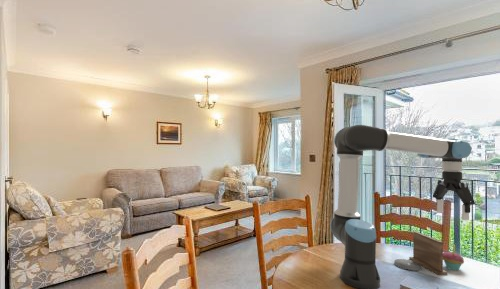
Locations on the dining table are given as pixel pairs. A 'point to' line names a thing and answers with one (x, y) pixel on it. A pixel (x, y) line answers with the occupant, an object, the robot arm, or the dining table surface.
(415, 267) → the plate
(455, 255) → the cupcake
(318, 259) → the dining table surface
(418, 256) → the screen
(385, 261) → the dining table surface
